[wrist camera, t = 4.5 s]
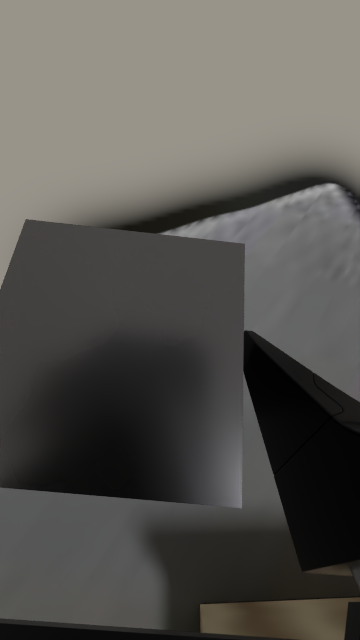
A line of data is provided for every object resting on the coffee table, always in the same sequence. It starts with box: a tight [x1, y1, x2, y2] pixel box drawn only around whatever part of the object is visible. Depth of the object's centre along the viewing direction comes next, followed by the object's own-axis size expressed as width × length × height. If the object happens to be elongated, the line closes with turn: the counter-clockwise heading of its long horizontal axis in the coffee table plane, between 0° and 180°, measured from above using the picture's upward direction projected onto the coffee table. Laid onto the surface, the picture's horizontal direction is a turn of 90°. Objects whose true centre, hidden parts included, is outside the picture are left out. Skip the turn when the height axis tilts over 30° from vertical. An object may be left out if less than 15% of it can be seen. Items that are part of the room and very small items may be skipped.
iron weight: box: [0, 219, 245, 508], centre depth 9 cm, size 7×7×13 cm
